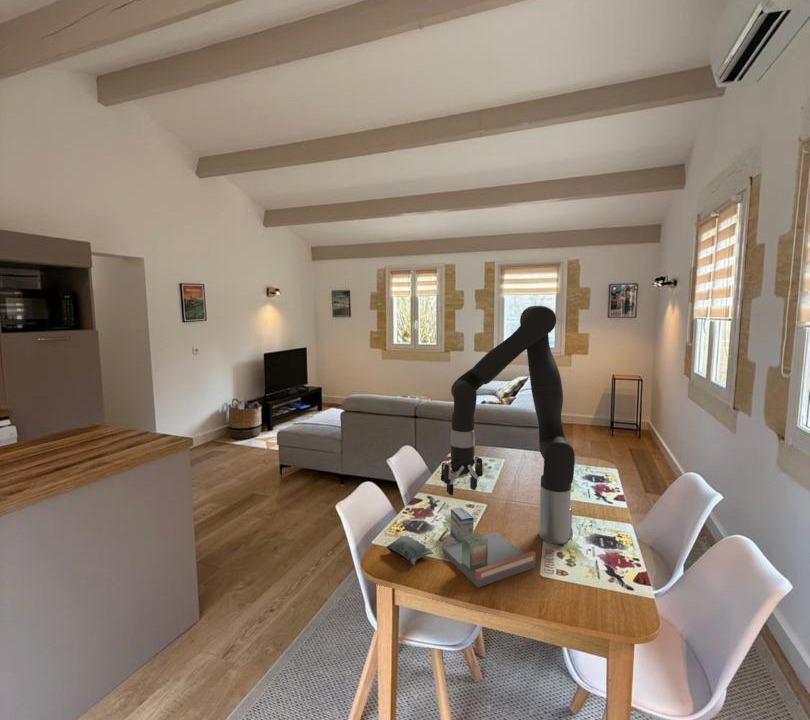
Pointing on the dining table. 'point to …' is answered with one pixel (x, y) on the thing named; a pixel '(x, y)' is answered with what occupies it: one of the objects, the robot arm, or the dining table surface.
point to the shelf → (493, 560)
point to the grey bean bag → (408, 549)
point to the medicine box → (461, 523)
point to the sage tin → (474, 551)
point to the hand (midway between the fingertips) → (461, 491)
